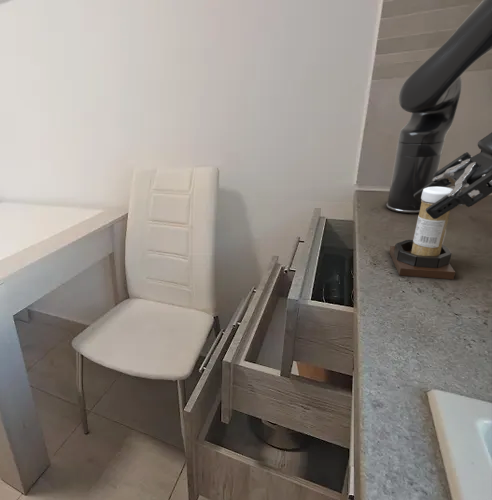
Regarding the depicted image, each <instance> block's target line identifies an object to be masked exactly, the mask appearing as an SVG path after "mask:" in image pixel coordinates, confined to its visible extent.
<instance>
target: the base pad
mask: <svg viewBox="0 0 492 500" xmlns="http://www.w3.org/2000/svg"><path fill="white" fill-rule="evenodd" d="M412 246H413V239H405V240H402V241H400V242H397V243H395V245H390V247H389V255H390V258H391V259H392V262H393V264H394V267H395V269H396V272H397V273H398V276H400V277H401V276H403V277H414V278H415V277H416V278H417V277H418V278H427V279H429V278H430V279H440V280H454V279H455V275H456V271H455V269H454V268H453V266H452V265H451V264H450V261H451V257H452V252H451V250H450V249H449V248H448V247H447V246H446V245H445V244H443V245H442V247H441V252H440V255H439V256H422V255H416V254H413V253H411V251H412Z"/></svg>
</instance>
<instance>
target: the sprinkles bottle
mask: <svg viewBox="0 0 492 500" xmlns="http://www.w3.org/2000/svg"><path fill="white" fill-rule="evenodd" d="M453 189H454V188H451V187H449V188H447V187H427V188H425V189H423V192H422V196H421V199H422V200H421V202H422V203H421V207H420V212H419V213H418V216H417V219H416V225H415V229H414V235H413V239H412V240H413V246H412V251H411V253H413V254H416V255H422V256H439V255H440V252H441V247H442V245H444V242H445V238H446V234H447V226H448V222H449V219H450V214H451V210H450V211H448V212H446V213H445V214H443V215H442V216H440V217H438V218H437V219H433V218H432V217H431V216H430V215H429V214H428V213H427V212H426V208H428V207H429V206H431V205H432V204H434V203H435V202H437V201H438V200H440V199H441V198H443V197H444V196H446V195H447V196H448V195H449V193H450V192H451V191H452V190H453ZM448 197H449V196H448Z"/></svg>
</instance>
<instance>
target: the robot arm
mask: <svg viewBox="0 0 492 500" xmlns="http://www.w3.org/2000/svg"><path fill="white" fill-rule="evenodd" d="M490 51H492V0H481V2H480V3H479V4H478V5H477V6H476V7H475V8H474V9H473V10H472V12H471V13H470V14H469V15H468V16H467V17H466V18H465V19H464V21H463V22H462V23H460V25H459V26H458V27H457V28H456V30H455V31H454V32H453V33H452V34H451V35H450V36H449V38H448V39H447V40H446V41H445V42H444V43H443V44H442V45H441V46H440V47H438V49H437V50H436V51H434V53H433V54H431V56H429V57H428V59H427V58H426V60H425V61H424V62H423V63H422V64H421V65H420V66H418V68H417V69H415V70H414V71H413V72H412V74H409V76H408V77H407V78H406V79H405V81H404V82H403V84H402V85H401V87H400V90H399V93H398V104H399V106H400V108H401V109H402V110H403V111H405V112H408V113H411V115H410V117H409V120H408V121H407V123H406V124H405V125H403V127H402V128H401V129H400V131H399V133H398V138H397V144H396V150H395V157H394V161H393V162H394V163H393V167H392V173H391V179H390V180H391V181H390V186H389V191H388V197H387V202H386V209H388V210H390V211H392V212H396V213H402V214H419V212H420V207H421V203H422V202H421V200H422V199H421V196H422V192H423V189H425V188H427V187H447V188H451V187H454V188H452V189H453V190H452V191H451V192H450V193H449V195H448V196H449V197H448V196H447V195H446V196H444V197H443V198H441V199H440V200H438V201H437V202H435V203H434V204H432V205H431V206H429V207H428V208H426V212H427V213H428V214H429V215H430V216H431V217H432V218H433V219H437V218H438V217H440V216H442V215H443V214H445V213H446V212H448V211H450V212H451V210H453V209H455V208H456V207H457V206H459V207H463V206H464V205H465V206H466V207H467V208H470V207H473V206H474V205H475V204H478V203H479V202H480V201H482V200H483V199H485V198H487V197H488V196H489V195H491V194H492V131H491V132H490V133H488V134H487V135H486V136H484V137H483V138H482V139H480V140H478V142H477V147H478V149H479V150H480V152H479V153H476V154H475V155H471V154H470V153H469V152H464V153H462V154H461V155H460V156H458V157H456V158H455V159H453V160H452V161H450V162H449V163H448V164H446V165H445V166H443V167H441V168H440V165H441V160H442V154H443V150H444V146H445V142H446V137H447V134H448V133H449V131H450V130H451V127H452V126H453V123H454V120H455V116H456V113H457V109H458V105H459V102H460V98H461V93H462V88H463V81H462V75H463V74H464V73H465V72H466V71H467V70H468V69H469V68H471V66H472V65H474V64H475V63H476V62H477V61H478V60H480V59H481V58H482V57H484V55H486V54H488V53H489V52H490Z"/></svg>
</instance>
